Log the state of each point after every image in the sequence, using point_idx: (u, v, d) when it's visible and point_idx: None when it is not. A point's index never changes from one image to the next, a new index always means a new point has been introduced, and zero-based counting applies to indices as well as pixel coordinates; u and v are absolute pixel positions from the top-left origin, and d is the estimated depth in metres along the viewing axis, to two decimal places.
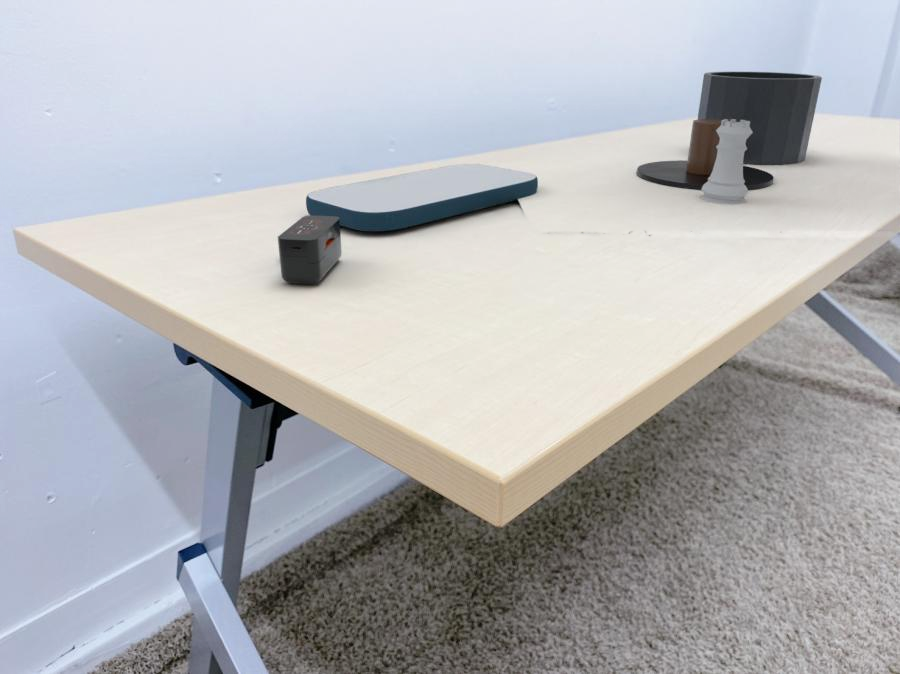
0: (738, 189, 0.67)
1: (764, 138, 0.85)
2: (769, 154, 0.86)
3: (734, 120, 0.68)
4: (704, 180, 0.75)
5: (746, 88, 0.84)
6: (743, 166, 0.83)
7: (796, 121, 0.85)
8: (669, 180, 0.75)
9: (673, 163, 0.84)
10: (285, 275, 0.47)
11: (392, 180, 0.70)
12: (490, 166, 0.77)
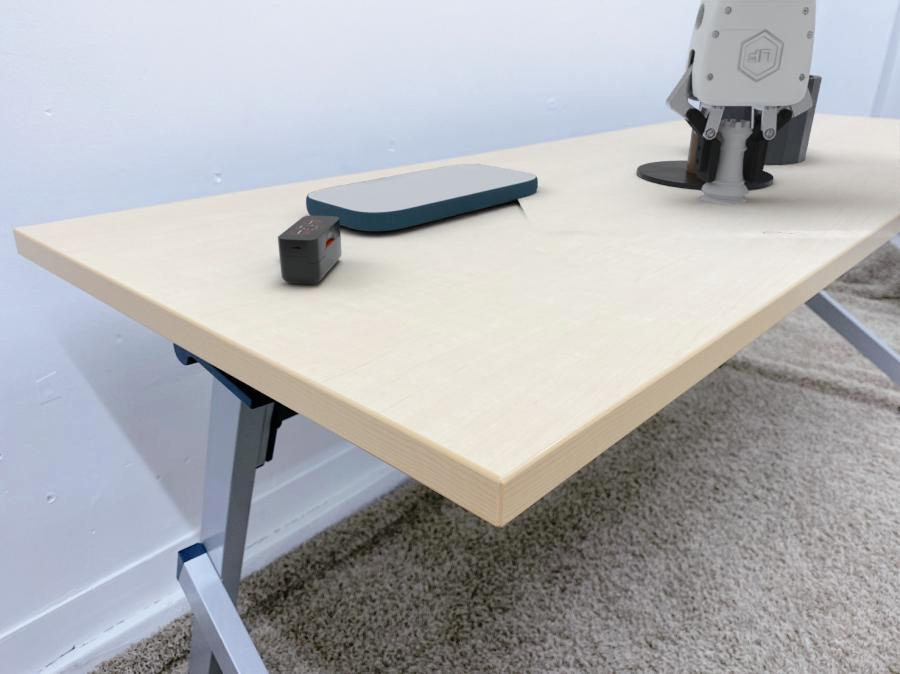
0: (738, 189, 0.67)
1: None
2: (769, 154, 0.86)
3: (734, 120, 0.68)
4: None
5: None
6: None
7: (796, 121, 0.85)
8: (669, 180, 0.75)
9: (673, 163, 0.84)
10: (285, 275, 0.47)
11: (392, 180, 0.70)
12: (490, 166, 0.77)
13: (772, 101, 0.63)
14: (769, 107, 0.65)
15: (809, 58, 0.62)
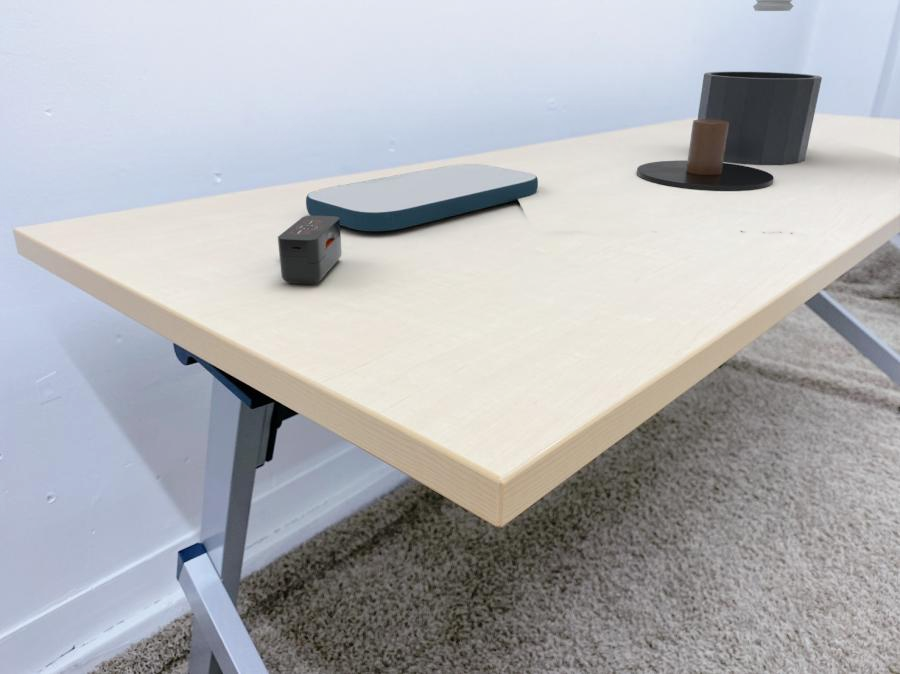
0: None
1: (764, 138, 0.85)
2: (769, 154, 0.86)
3: None
4: (704, 180, 0.75)
5: (746, 88, 0.84)
6: (743, 166, 0.83)
7: (796, 121, 0.85)
8: (669, 180, 0.75)
9: (673, 163, 0.84)
10: (285, 275, 0.47)
11: (392, 180, 0.70)
12: (490, 166, 0.77)
13: None
14: None
15: None
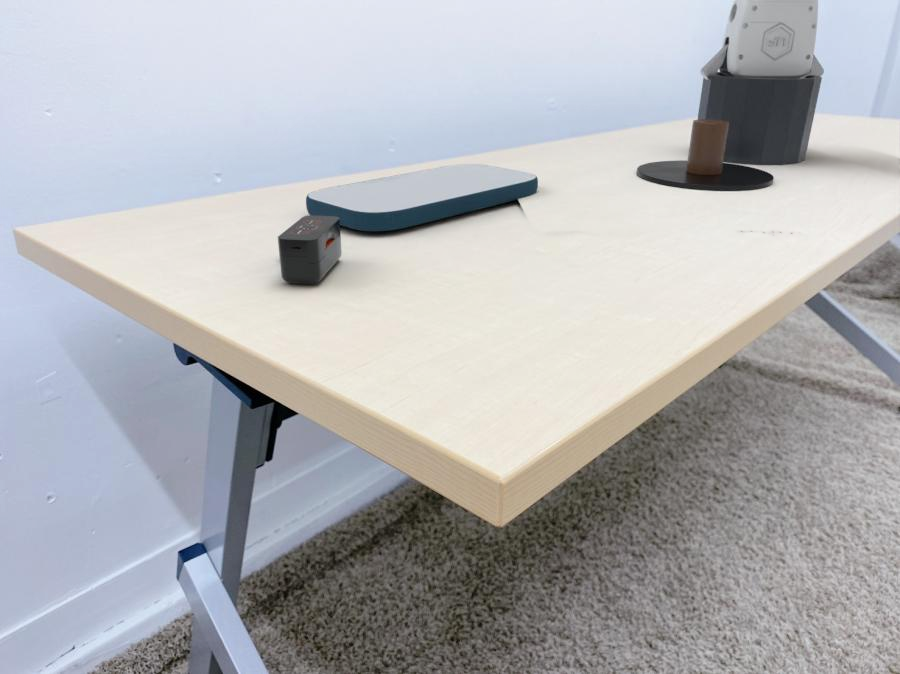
0: None
1: (764, 138, 0.85)
2: (769, 154, 0.86)
3: None
4: (704, 180, 0.75)
5: (746, 88, 0.84)
6: (743, 166, 0.83)
7: (796, 121, 0.85)
8: (669, 180, 0.75)
9: (673, 163, 0.84)
10: (285, 275, 0.47)
11: (392, 180, 0.70)
12: (490, 166, 0.77)
13: (786, 75, 0.86)
14: None
15: (813, 43, 0.85)
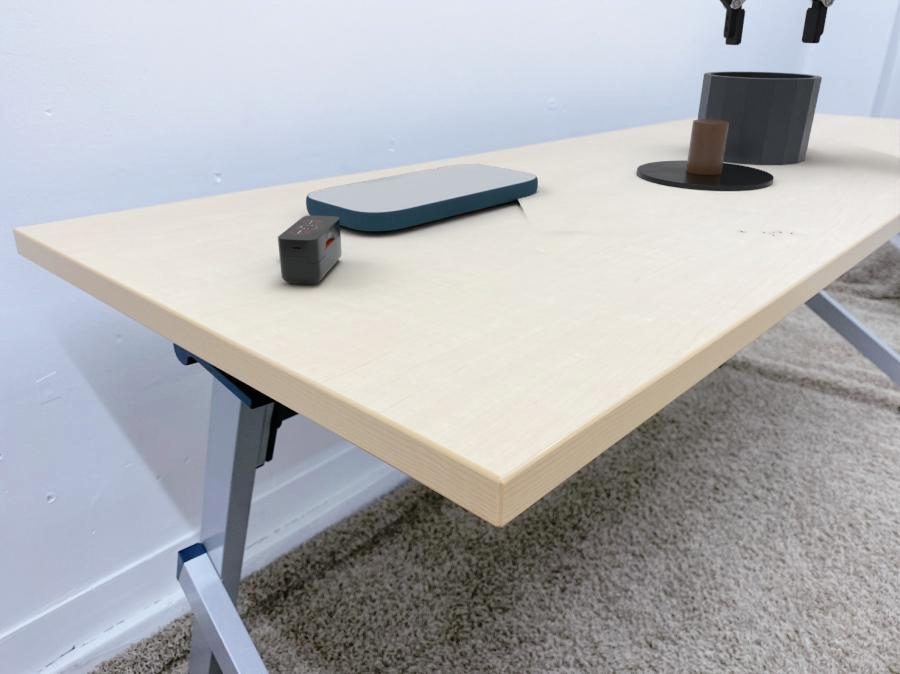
0: None
1: (764, 138, 0.85)
2: (769, 154, 0.86)
3: None
4: (704, 180, 0.75)
5: (746, 88, 0.84)
6: (743, 166, 0.83)
7: (796, 121, 0.85)
8: (669, 180, 0.75)
9: (673, 163, 0.84)
10: (285, 275, 0.47)
11: (392, 180, 0.70)
12: (490, 166, 0.77)
13: None
14: None
15: None
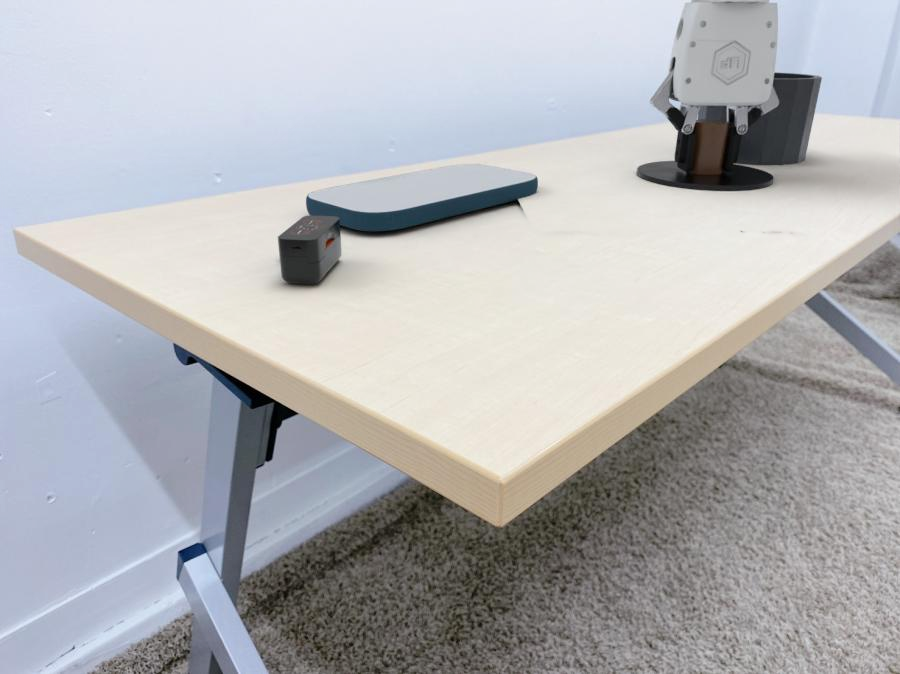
0: None
1: (764, 138, 0.85)
2: (769, 154, 0.86)
3: None
4: (704, 180, 0.75)
5: None
6: (743, 166, 0.83)
7: (796, 121, 0.85)
8: (669, 180, 0.75)
9: (673, 163, 0.84)
10: (285, 275, 0.47)
11: (392, 180, 0.70)
12: (490, 166, 0.77)
13: (742, 101, 0.74)
14: (740, 106, 0.75)
15: (773, 64, 0.73)
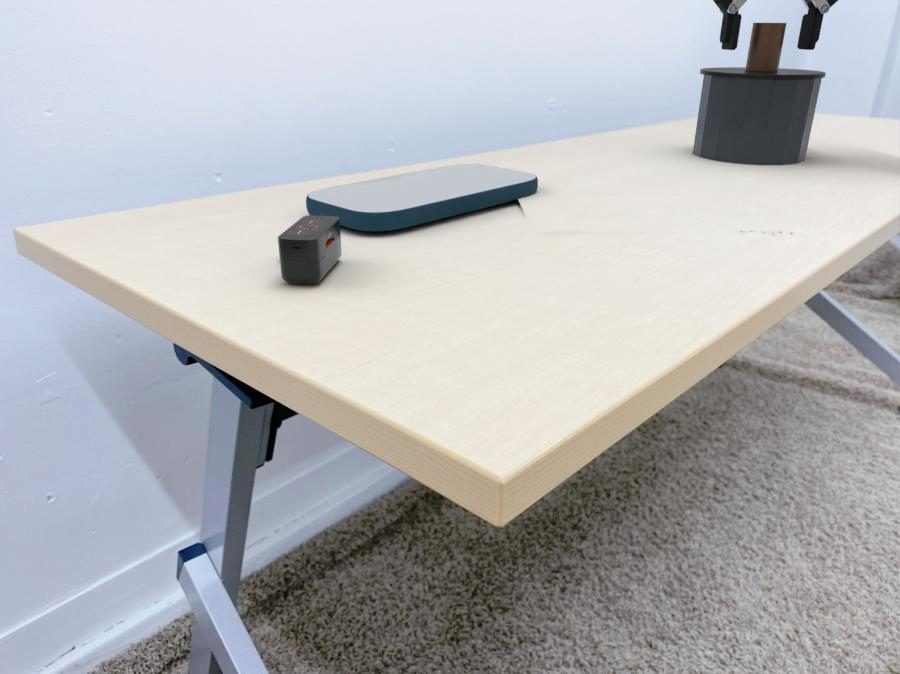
0: None
1: (764, 138, 0.85)
2: (769, 154, 0.86)
3: None
4: (765, 73, 0.84)
5: (746, 88, 0.84)
6: (795, 69, 0.92)
7: (796, 121, 0.85)
8: (733, 73, 0.84)
9: None
10: (285, 275, 0.47)
11: (392, 180, 0.70)
12: (490, 166, 0.77)
13: None
14: None
15: None
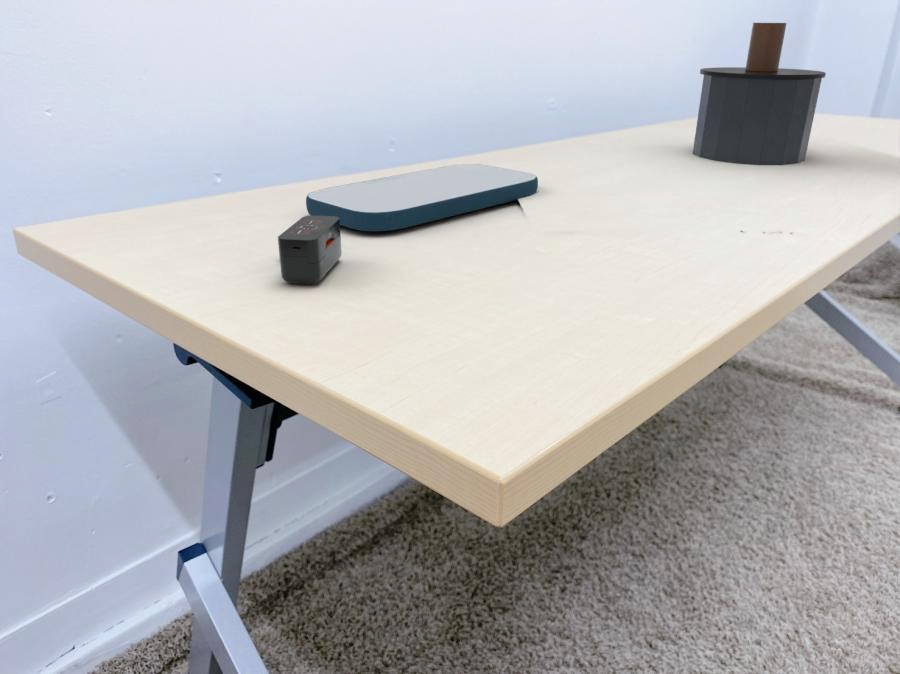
0: None
1: (764, 138, 0.85)
2: (769, 154, 0.86)
3: None
4: (765, 73, 0.84)
5: (746, 88, 0.84)
6: (795, 69, 0.92)
7: (796, 121, 0.85)
8: (733, 73, 0.84)
9: None
10: (285, 275, 0.47)
11: (392, 180, 0.70)
12: (490, 166, 0.77)
13: None
14: None
15: None
